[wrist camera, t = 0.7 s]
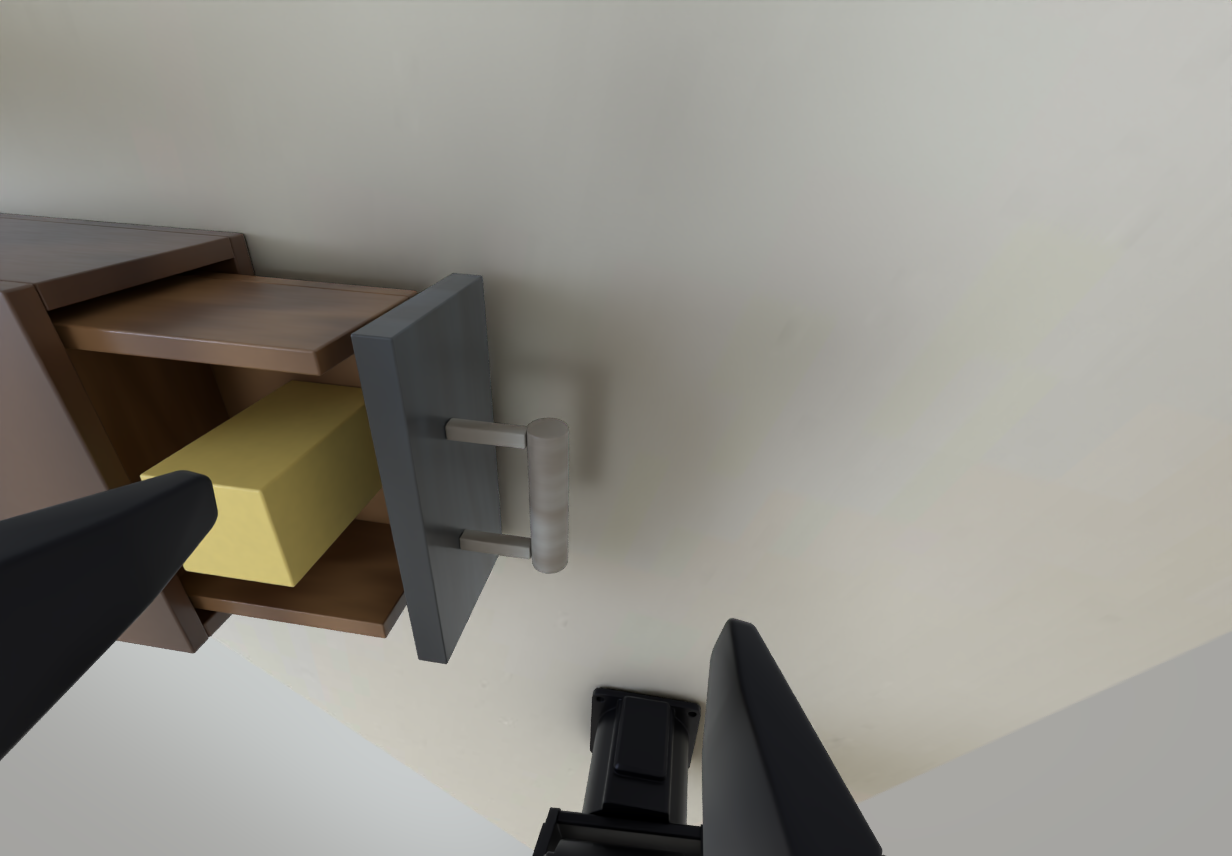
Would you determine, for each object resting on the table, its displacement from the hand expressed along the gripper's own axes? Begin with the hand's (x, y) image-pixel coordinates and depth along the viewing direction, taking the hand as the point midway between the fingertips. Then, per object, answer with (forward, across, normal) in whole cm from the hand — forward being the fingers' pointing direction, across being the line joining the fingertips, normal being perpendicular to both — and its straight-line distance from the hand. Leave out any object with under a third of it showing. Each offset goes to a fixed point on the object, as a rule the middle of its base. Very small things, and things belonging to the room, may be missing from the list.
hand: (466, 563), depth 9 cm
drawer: (+13, +8, +7) cm, 16 cm away
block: (+12, +10, +7) cm, 17 cm away
